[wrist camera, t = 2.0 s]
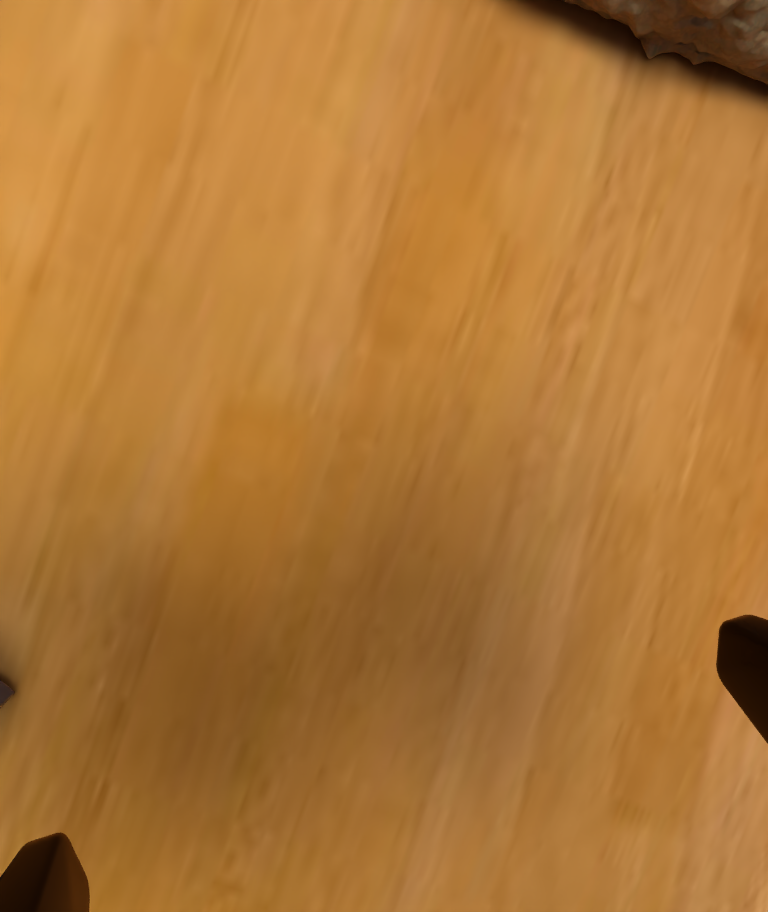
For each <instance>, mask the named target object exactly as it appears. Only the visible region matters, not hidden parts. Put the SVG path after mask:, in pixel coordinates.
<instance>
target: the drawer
mask: <svg viewBox="0 0 768 912" xmlns="http://www.w3.org/2000/svg"><path fill="white" fill-rule="evenodd" d="M14 693H15V692H14V691H13V690H12V689H11V688H10V687H8V686H7V685H6V684H5V683H3V682H2V681H1V680H0V708H1V707H2V706H3V705H4V704H5V703H6V702H7V701H8V700H9V698H10V697H11V696H12V695H13V694H14Z"/></svg>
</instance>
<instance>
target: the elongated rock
mask: <svg viewBox="0 0 768 912" xmlns="http://www.w3.org/2000/svg"><path fill="white" fill-rule="evenodd" d="M563 1H565V2H567V3H569V4H577V5H579V6H580V7H582V8H584V9H586V10H593V11H595V12H596V13H598V14H600V15H601V16H602V17H604V18H605V19H610V18H612V19H615V20H617V21H619V22H621V23H623V24H626V25H628V26H629V27H630V29H631V30H632V32H633V33H634V35H635V37H637V38H639V39H640V40H641V44H642V46H643V48H644V50H645V53H646V55H647V57H648V58H653V57H655V56H656V55H658V54H661V53H670V52H676V53H678V54H680V55H682V56H684V57H685V58H688V59H689V60H690V61H691V63H692V64H694V65H696V64H699V63H702V62H705V61H708V62H710V61H712V62H717V63H719V64H721V65H723V66H725V67H728V68H731V69H733V70H736V71H737V72H738V73H740V74H743V75H745V76H748V77H750V78H752V79H755V80H759V81H761V82H764V83H766V84H767V85H768V0H563Z"/></svg>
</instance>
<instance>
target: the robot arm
mask: <svg viewBox="0 0 768 912" xmlns="http://www.w3.org/2000/svg"><path fill="white" fill-rule="evenodd" d="M716 667H717V672H718V675H719V678H720V679H721V681H722V683H723V685H724V686H725V687H726V689H727V690H728V691H729V693H730V694H731V695H732V697H733V698H734V699H735V701H736V702H737V703H738V705H739V706H740V707H741V709H742V710H743V711H744V713H745V714H746V715H747V717H748V718H749V719H750V721H751V722H752V723H753V725H754V726H755V727H756V729H757V730H758V731H759V733H760V734H761V735H762V737H763V738H764V739H765V741H766V742H767V743H768V620H766V619H763V618H760V617H757V616H753V615H743V616H740V617H736V618H733V619H730V620H727V621H725V622H723V623H722V625H721V626H720V629H719V638H718V650H717V661H716ZM89 903H90V894H89V884H88V880H87V876H86V874H85V872H84V870H83V867H82V865H81V863H80V861H79V859H78V857H77V855H76V853H75V851H74V849H73V847H72V844H71V842H70V840H69V839H68V837H67V836H66V835H65V834H64V833H55V834H52V835H49V836H46V837H42V838H39V839H36V840H33V841H30V842H28V843H27V844H25V845H24V846H23V847H22V848H21V849H20V851H19V852H18V853H17V855H16V856H15V858H14V859H13V860H12V862H11V863H10V865H9V866H8V867H7V869H6V870H5V872H4V873H3V874H2V876H1V877H0V912H89Z"/></svg>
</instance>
